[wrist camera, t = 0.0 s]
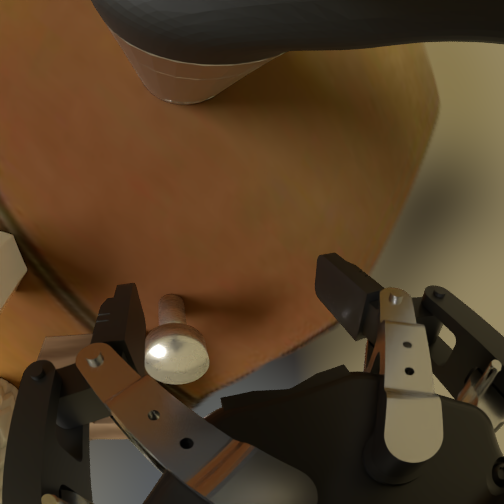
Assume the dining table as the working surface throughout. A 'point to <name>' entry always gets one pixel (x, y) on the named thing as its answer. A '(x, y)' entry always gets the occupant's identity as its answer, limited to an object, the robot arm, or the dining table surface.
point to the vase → (5, 420)
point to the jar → (9, 268)
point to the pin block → (64, 354)
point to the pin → (175, 346)
